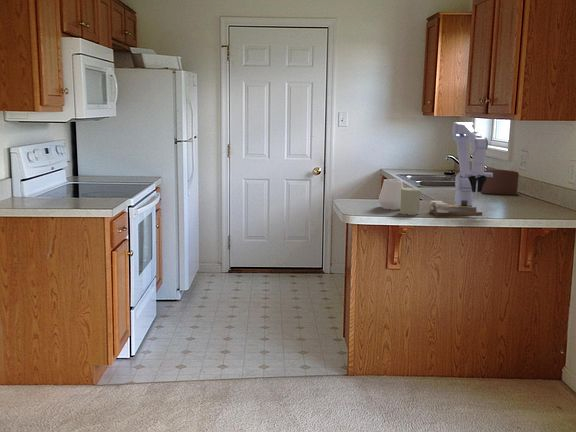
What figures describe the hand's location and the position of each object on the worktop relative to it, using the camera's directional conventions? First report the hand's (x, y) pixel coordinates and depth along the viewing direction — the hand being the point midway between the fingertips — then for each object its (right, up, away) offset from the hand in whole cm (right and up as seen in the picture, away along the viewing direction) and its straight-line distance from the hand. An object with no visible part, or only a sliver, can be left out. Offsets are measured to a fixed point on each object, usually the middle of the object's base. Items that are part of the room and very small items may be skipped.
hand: (476, 192), depth 307 cm
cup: (-38, -8, +13) cm, 41 cm away
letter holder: (+34, +2, +72) cm, 79 cm away
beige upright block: (-32, -10, 0) cm, 33 cm away
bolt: (-9, -8, +1) cm, 12 cm away
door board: (-10, -10, +1) cm, 14 cm away
